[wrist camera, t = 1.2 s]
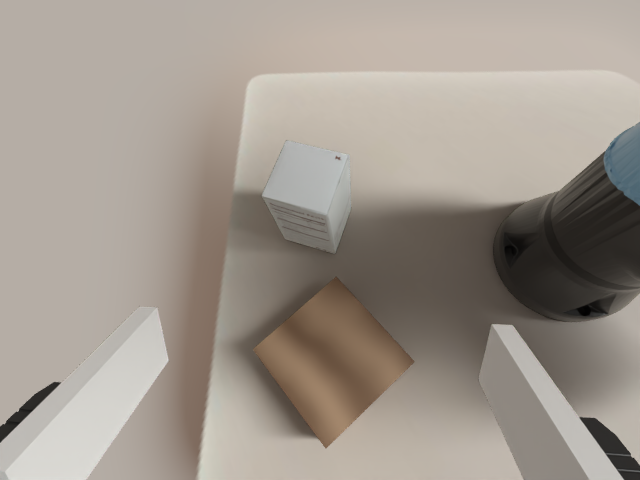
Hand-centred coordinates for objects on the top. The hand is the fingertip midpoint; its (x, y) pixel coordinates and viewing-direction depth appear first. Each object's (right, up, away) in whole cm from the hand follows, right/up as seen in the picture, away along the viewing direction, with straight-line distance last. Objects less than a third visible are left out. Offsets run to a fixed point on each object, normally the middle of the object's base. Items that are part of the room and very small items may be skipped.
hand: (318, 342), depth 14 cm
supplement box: (0, +6, +33) cm, 33 cm away
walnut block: (+2, -10, +27) cm, 28 cm away
